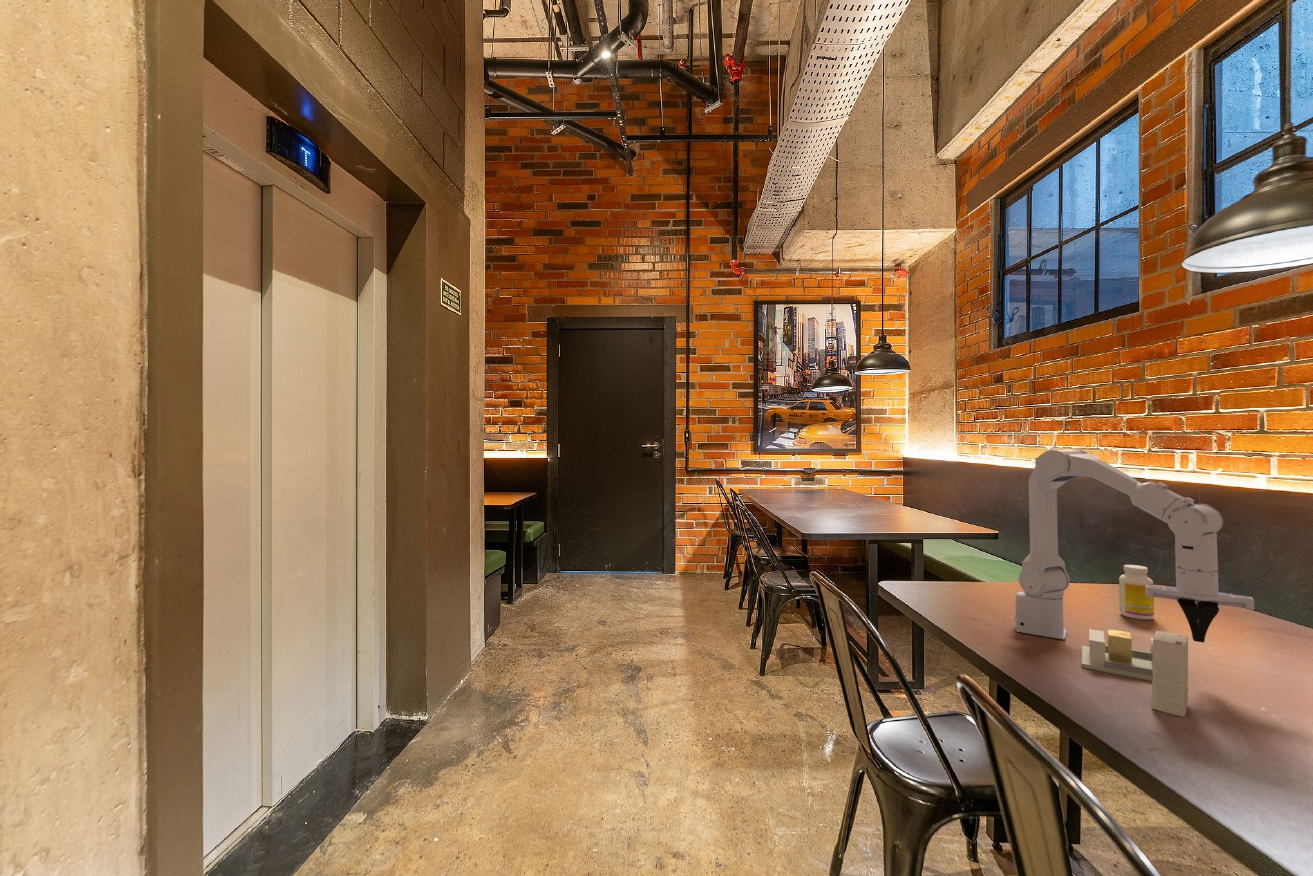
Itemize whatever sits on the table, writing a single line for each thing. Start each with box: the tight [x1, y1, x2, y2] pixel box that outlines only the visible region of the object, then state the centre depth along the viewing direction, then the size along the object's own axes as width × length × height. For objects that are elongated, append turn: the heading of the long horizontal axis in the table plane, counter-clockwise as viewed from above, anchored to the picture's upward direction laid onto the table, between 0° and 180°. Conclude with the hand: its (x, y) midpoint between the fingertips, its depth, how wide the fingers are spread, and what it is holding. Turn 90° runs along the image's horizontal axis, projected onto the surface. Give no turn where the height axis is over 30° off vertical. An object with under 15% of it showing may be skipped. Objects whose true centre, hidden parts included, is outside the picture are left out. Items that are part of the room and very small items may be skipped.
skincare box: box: [1151, 630, 1189, 718], centre depth 92 cm, size 6×4×12 cm
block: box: [1107, 628, 1133, 665], centre depth 110 cm, size 4×4×6 cm
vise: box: [1081, 628, 1152, 682], centre depth 110 cm, size 14×12×5 cm
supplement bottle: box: [1118, 564, 1155, 621], centre depth 140 cm, size 7×7×13 cm
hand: (1198, 640), depth 103 cm, fingers closed
